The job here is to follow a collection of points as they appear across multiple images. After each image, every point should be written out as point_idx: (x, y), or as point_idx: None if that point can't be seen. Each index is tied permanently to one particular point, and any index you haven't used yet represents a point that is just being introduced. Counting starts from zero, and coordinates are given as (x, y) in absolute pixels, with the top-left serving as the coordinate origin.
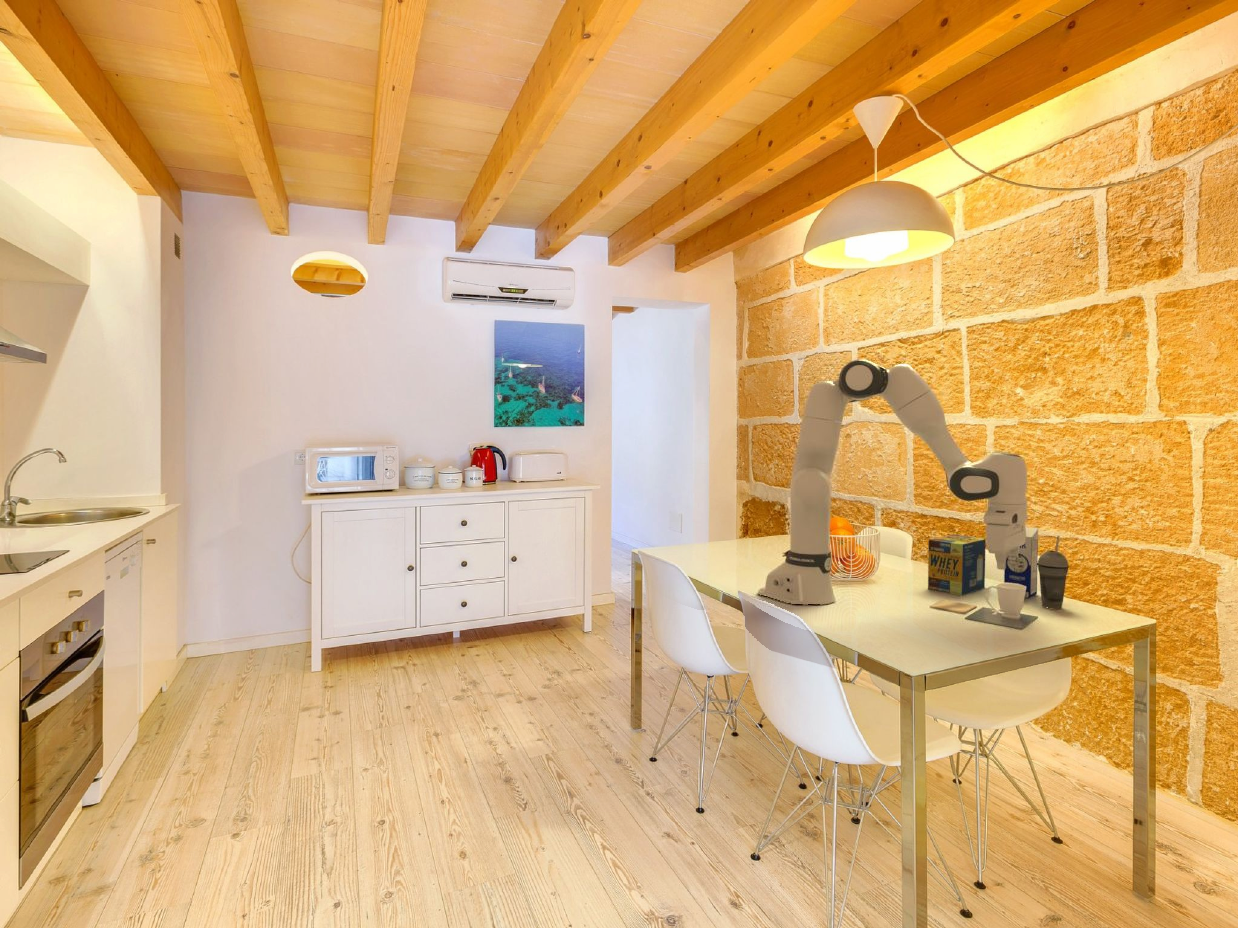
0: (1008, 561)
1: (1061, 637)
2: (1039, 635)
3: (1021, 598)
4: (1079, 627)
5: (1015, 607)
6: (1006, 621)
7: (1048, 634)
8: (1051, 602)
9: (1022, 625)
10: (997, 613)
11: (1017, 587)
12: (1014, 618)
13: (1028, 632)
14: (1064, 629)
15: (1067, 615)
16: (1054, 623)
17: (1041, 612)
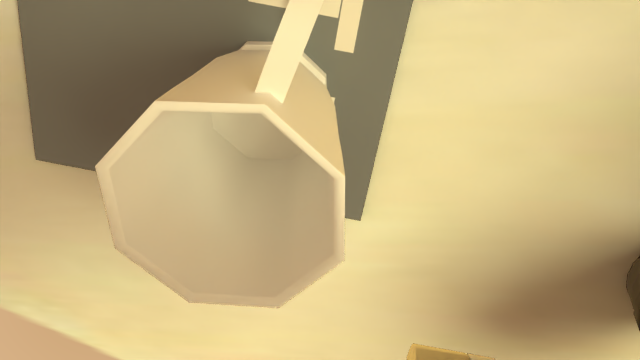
0: (416, 352)
1: (52, 295)
2: (6, 225)
3: (200, 227)
4: (281, 355)
5: (195, 158)
6: (119, 80)
7: (57, 255)
8: (637, 302)
9: (100, 159)
10: None
11: (330, 234)
12: None
13: (16, 184)
14: (200, 309)
15: (498, 329)
16: None
17: (505, 231)
